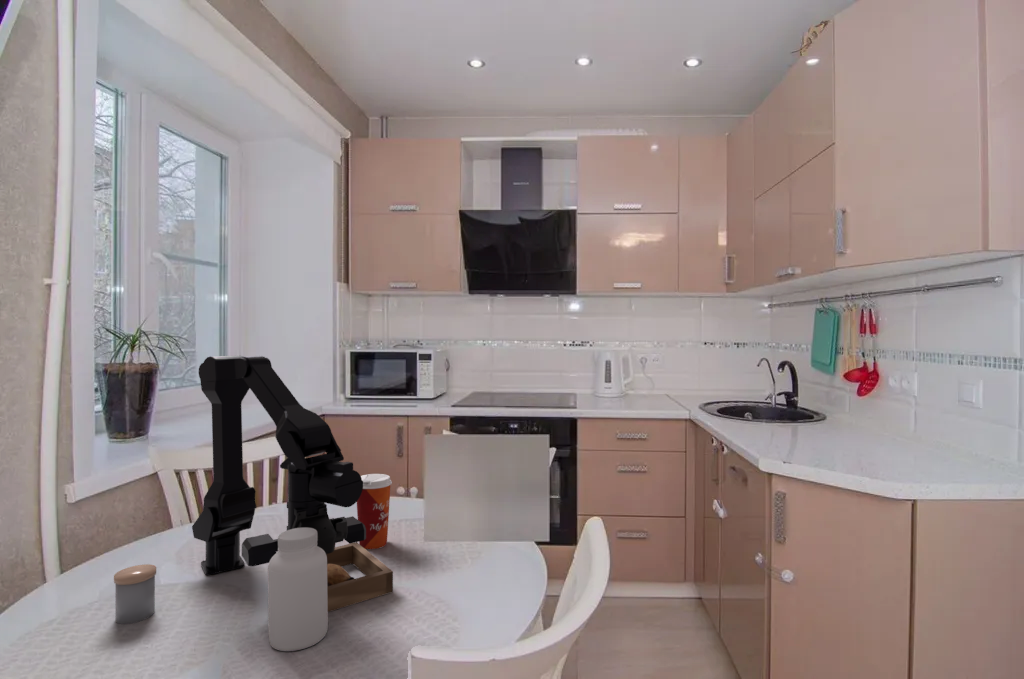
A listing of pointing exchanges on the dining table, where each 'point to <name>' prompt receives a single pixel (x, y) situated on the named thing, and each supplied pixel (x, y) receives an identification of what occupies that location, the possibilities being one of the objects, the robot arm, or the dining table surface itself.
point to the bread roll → (336, 575)
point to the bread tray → (362, 587)
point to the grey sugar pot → (134, 593)
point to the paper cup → (374, 509)
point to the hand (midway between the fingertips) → (306, 590)
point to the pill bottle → (297, 591)
